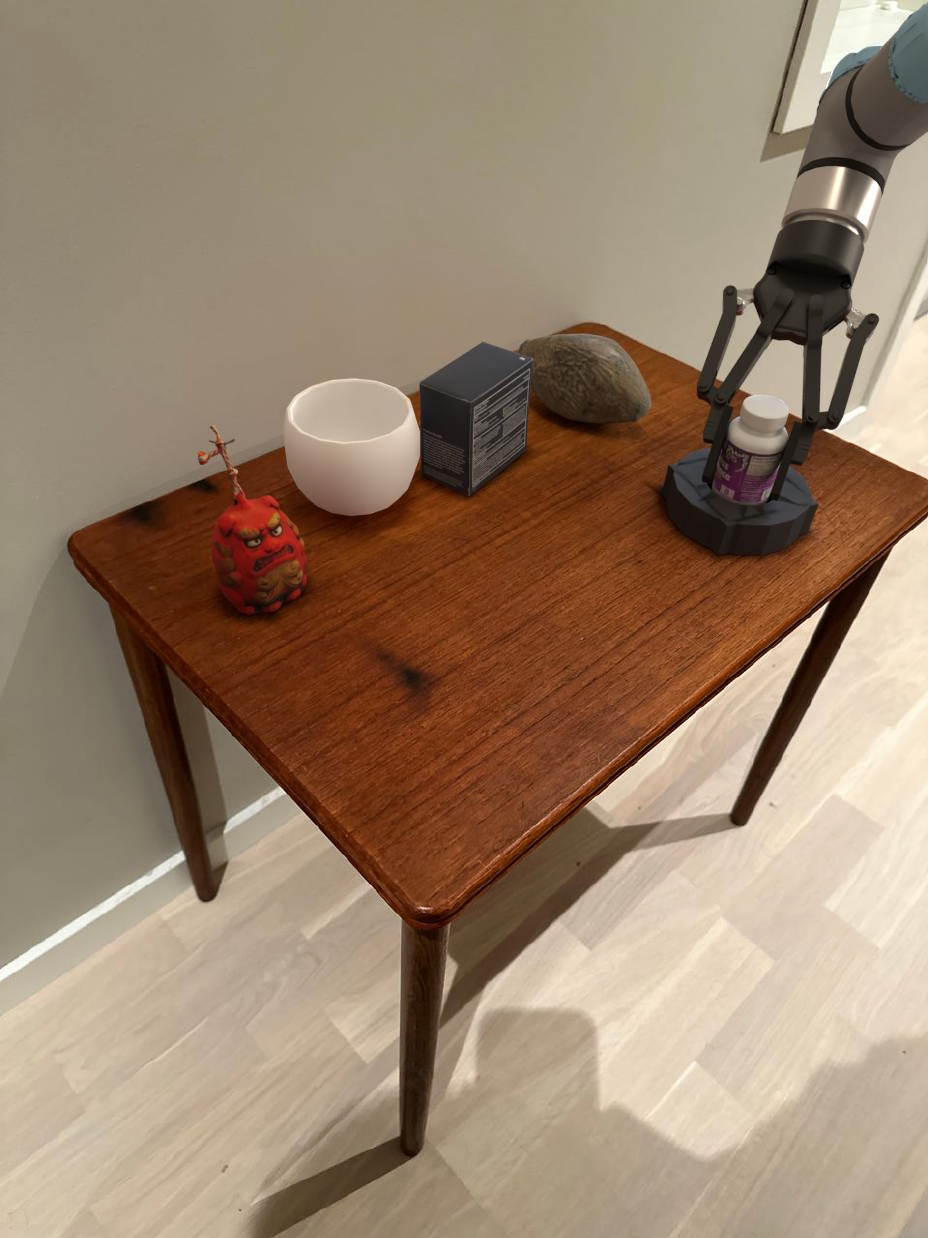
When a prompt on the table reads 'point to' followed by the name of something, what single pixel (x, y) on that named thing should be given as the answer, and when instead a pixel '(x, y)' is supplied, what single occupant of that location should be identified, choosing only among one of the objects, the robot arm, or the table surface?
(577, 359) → the stone
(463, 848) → the table surface
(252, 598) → the red clay folk toy
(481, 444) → the small box
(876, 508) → the table surface
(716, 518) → the dark grey faceted ring
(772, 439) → the pill bottle
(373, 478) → the cup
